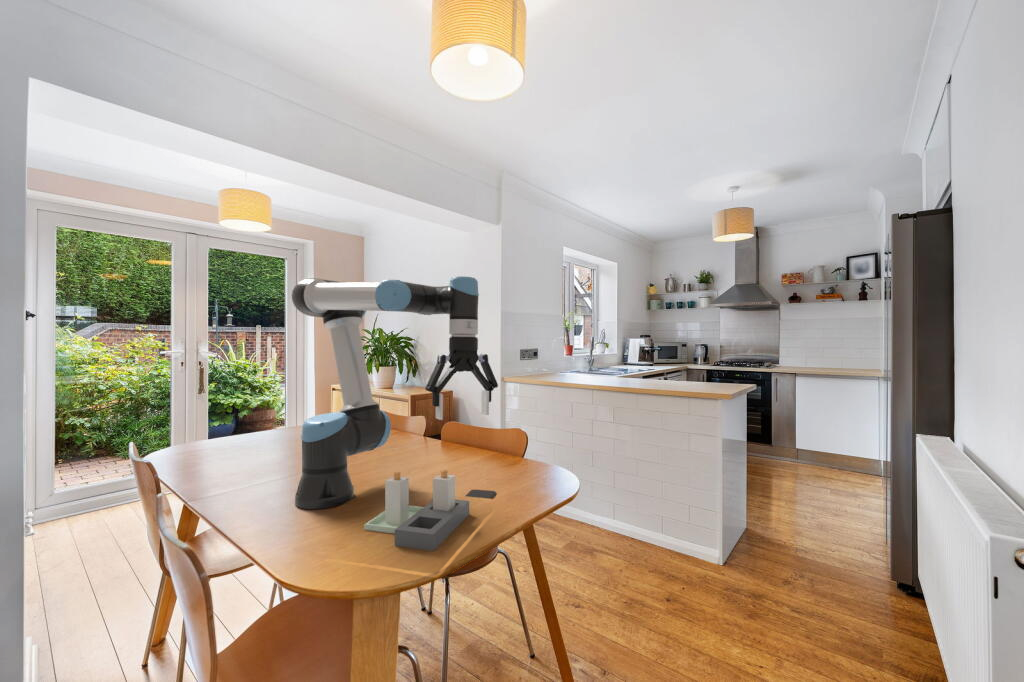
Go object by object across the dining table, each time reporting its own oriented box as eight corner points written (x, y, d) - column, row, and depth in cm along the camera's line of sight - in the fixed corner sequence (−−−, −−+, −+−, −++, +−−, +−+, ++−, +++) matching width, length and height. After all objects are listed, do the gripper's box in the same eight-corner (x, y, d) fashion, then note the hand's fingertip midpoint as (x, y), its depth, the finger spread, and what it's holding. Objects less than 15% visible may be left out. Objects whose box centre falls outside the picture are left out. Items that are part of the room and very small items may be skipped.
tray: (364, 532, 101) (364, 524, 101) (395, 511, 114) (394, 504, 114) (400, 536, 98) (399, 528, 98) (427, 514, 111) (427, 507, 111)
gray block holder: (394, 548, 93) (394, 489, 93) (436, 513, 112) (436, 464, 112) (433, 553, 90) (433, 492, 90) (469, 516, 109) (469, 466, 109)
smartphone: (480, 515, 111) (497, 493, 127) (480, 511, 111) (497, 490, 127) (451, 512, 113) (471, 492, 129) (450, 509, 113) (471, 488, 129)
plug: (385, 522, 105) (385, 474, 105) (394, 516, 108) (394, 469, 108) (400, 524, 103) (400, 475, 104) (408, 518, 107) (408, 471, 107)
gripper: (424, 335, 105) (424, 423, 105) (510, 336, 119) (510, 414, 119) (413, 335, 112) (412, 418, 112) (496, 336, 126) (495, 410, 126)
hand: (462, 416), depth 115 cm, fingers open, 13 cm apart
